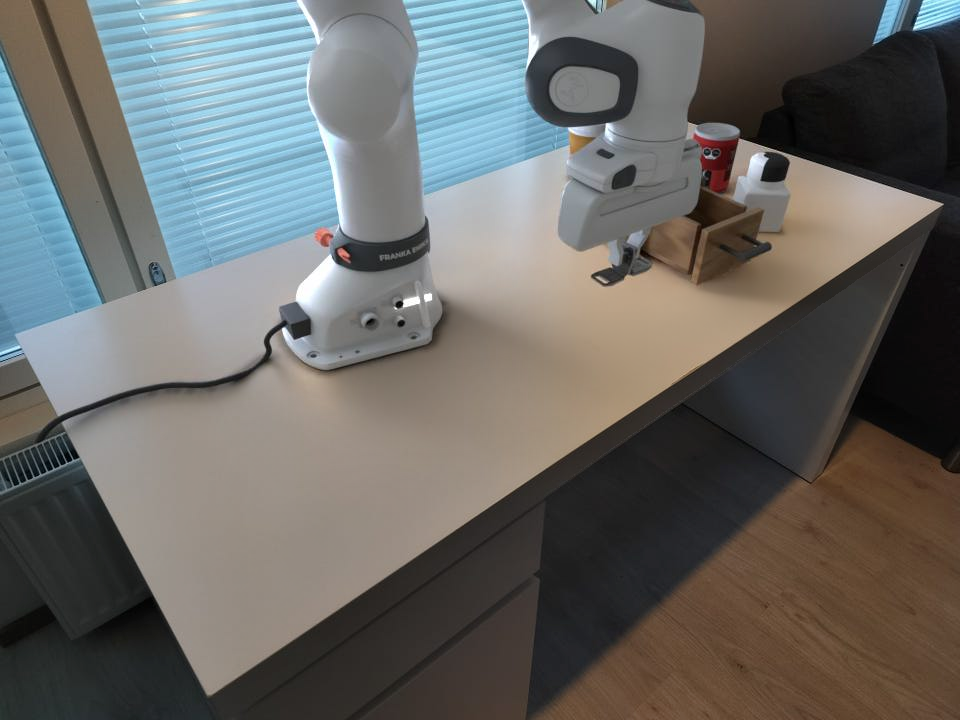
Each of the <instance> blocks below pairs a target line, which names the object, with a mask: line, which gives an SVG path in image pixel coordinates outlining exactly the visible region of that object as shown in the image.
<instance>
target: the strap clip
mask: <svg viewBox="0 0 960 720" xmlns="http://www.w3.org/2000/svg"><path fill="white" fill-rule="evenodd" d="M621 244H622V245H623V246H624V247H626V248H628V249H629V250H631V257H630V256H628V257H627V262H626V263H624V264H621V265H619V266H615V265H614V264H612V263H611V267H610V266H609V267H607V268H604V269H601V270H598V271H595V272H593V273H592V274H590V278H591V280H593V281H594V282H595V283H597V284H599V285H600V286H602V287H604V288H608V287H613V286H615V285H617V284H620V283H621V282H624V281H625V278H626V277H627V276H631V277H636V276H639V275H641V274H644V273H646V272H648V271H649V270H651V269H652V268H653V262H652V261H650V260H648V259H647V258H645V256H644V257H642V256H640V255H639V257H638V258H637V259H635V250H634V248H632V247H630V246H629V245H627V244H625V243H621ZM634 259H635V260H634ZM597 277H599V278H600V279H602V280H604V282H603V281H602V280H600V279H598V278H597Z"/></svg>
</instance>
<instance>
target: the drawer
mask: <svg viewBox="0 0 960 720" xmlns="http://www.w3.org/2000/svg"><path fill="white" fill-rule="evenodd" d="M746 209H747V206H746V205H744V204H741V203H739V202H737V201H735V200H733V198H730V197H729V196H726V195H723V194H721V193H716V192H714V191H712V190H709V189H707V188H705V187H702V186H700V191H699V197H698V202H697V204H696V206H695V208H694V209H693V211H692V212H691V213H689V214H687V215H684V216H681V217H678V218H675V219H673V220H670V221H667V222H664V223H661V224H658V225H656V226H653V227H651V232H650V234H649V236H648V237H647V239H646V240H645V242H644V244H643V245H642V247H641V250H643V251H645V252H646V253H648V254H649V255H650V256H651V257H653V258H656V259H657V260H659V261H661V262H662V263H664V264H666V265H668V266H670V267H672V268H673V269H674V270H675V269H676V270H677V271H679V272H680V273H682V274H684V275H686V276H689V275H691V274H692V275H691V279H690V284H691V283H692V284H694V285H695V286H699V285H700V284H703V283H705V282H707V281H710V280H712V279H714V278H717V277H719V276H721V275H724V274H726V273H727V272H729V271H732V270H734V269H737V268H739V267H741V266H743V265H745V264H748V263H749V262H751V260H753V259H755V258H757V257H759V256H761V255H764V254H765V253H769V252H771V250H773V244H772V243H771V242H770V241H765V242H762V241H760V240H758V239H757V238H758V235H759V232H758V231H759V227H760V224H761V220H762V216H763V213H764V209H762V208H759V207H756V208H754V209H751V210H749V211H746Z"/></svg>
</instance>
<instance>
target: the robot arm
mask: <svg viewBox="0 0 960 720" xmlns="http://www.w3.org/2000/svg"><path fill="white" fill-rule="evenodd" d="M296 1H297V3H298V5H299V7H300V9H301V10H302V13H303V14H304V16H305V18H306V20H307V21H308V23H309V25H310V27H311V29H312V32H313V34H314V37H315V39H316V44H317V45H316V47H315V48H314V49H313V51H312V53H311V55H310V59H309V61H308V65H307V72H306V73H307V74H306V92H307V101H308V104H309V107H310V110H311V112H312V115H313V116H314V118H315V119H316V123H317V126H318V130H319V134H320V136H321V137H320V138H321V139H322V143H323V146H324V149H325V151H326V155H327V158H328V161H329V164H330V170H331V174H332V178H333V179H332V180H333V186H334V193H335V200H336V205H337V206H336V207H337V213H338V219H339V222H338V225H337V228H336V230H335V233H334V234H333V233H332V232H330V231H329V230H328V229H327V228H325V227H320V228H318V229H317V230H315V233H314V239H315V241H316V242H317V243H319V244H320V245H321V246H322V247H324V248H328V247H329V252H330V253H329V255H327V257H326V258H325V259H324V260H323V261H322V262H321V263H320V264H319V265H318V266H317V267H316V269H315V270H314V271H313V272H311V273H310V275H309V276H307V277H306V279H305V280H304V281H302V283H300V285H299V286H298V288H297V291H296V294H295V301H293V302H290V303H287V304H283V305H280V306H278V311H279V316H280V320H281V321H280V322H279V323H278V324H276V325H274V326H273V327H272V328H271V329H270V330H268V331H267V333H266V334H265V336H264V338H263V345H264V348H265V352H264V354H263V355H262V357H261V358H260V359H259V361H258V362H256V363H255V364H254V365H252V366H251V367H249V368H247V369H245V370H242V371H240V372H237V373H234V374H230V375H226V376H223V377H220V378H217V379H212V380H206V381H169V382H160V383H155V384H150V385H145V386H140V387H137V388H132V389H129V390H125V391H122V392H119V393H116V394H113V395H110V396H107V397H105V398H102V399H100V400H97V401H94V402H92V403H89V404H87V405H83V406H80V407H78V408H74V409H72V410H70V411H67V412H64V413H62V414H61V415H59V416H57V417H55V418H53V419H52V420H51V421H49V422H48V423H47V424H45V426H43V428H42V429H41V430H40V432H39V433H38V435H37V436H36V438H35V440H34V444H40V443H42V442H43V441H44V440H45V439H46V437H47V436H48V435H49V434H50V433H51V431H53V429H55V428H56V427H58V426H59V425H60V424H61V423H63V422H65V421H67V420H70V419H72V418H74V417H76V416H79V415H82V414H85V413H88V412H91V411H94V410H96V409H98V408H102V407H104V406H107V405H109V404H112V403H114V402H117V401H119V400H123V399H126V398H130V397H134V396H137V395H141V394H146V393H151V392H155V391H160V390H167V389H206V388H213V387H217V386H220V385H224V384H227V383H231V382H234V381H237V380H241V379H242V378H245V377H247V376H249V375H250V374H251V373H252V372H254V371H255V370H256V369H258V368H260V367H261V366H263V364H265V363H266V362H268V360H269V359H270V357H271V355H272V354H273V346H272V345H271V339H272V338H273V336H274V335H275V334H277V333H278V332H279V331H281V330H282V336H283V339H284V341H285V343H286V345H287V346H288V348H289V349H290V350H291V352H292V353H293V354H294V355H295V356H296V357H297V358H298V359H299V360H300V361H302V362H304V363H305V364H306V365H309V366H310V367H313V368H315V369H318V370H322V371H329V370H335V369H338V368H342V367H345V366H350V365H354V364H357V363H361V362H365V361H368V360H372V359H373V360H374V359H376V358H380V357H384V356H388V355H391V354H395V353H399V352H403V351H406V350H411V349H414V348H418V347H422V346H426V345H428V344H430V343H431V341H432V340H433V333H434V332H433V330H434V328H435V327H436V326H437V324H438V323H439V322H440V320H441V318H442V315H443V305H442V303H441V300H440V297H439V294H438V292H437V289H436V285H435V281H434V278H433V273H432V267H431V261H430V256H429V254H430V252H431V233H430V223H429V219H428V217H427V216H426V212H425V211H426V210H425V194H424V192H425V191H424V178H423V177H424V175H423V163H422V159H421V153H420V145H419V139H418V131H417V123H416V113H415V96H414V95H415V81H416V74H417V69H418V64H419V58H420V57H419V54H420V53H419V45H418V41H417V38H416V35H415V32H414V29H413V26H412V23H411V20H410V17H409V15H408V12H407V9H406V6H405V4H404V0H296ZM521 3H522V5H523V8H524V10H525V14H526V18H527V28H528V34H527V36H528V37H527V60H526V68H525V77H524V90H525V94H526V98H527V101H528V103H529V105H530V107H531V108H532V110H533V111H534V113H535V114H536V115H537V116H538V117H539V118H540V119H542V120H543V121H545V122H546V123H548V124H550V125H552V126H554V127H555V126H556V127H559V128H568V127H583V126H593V125H601V124H606V128H605V132H603V133H601V134H600V135H599V136H597V137H596V138H595V139H594V140H593V141H592V142H590V143H589V144H588V145H586V146H585V147H583V148H582V149H580V150H579V151H577V152H576V153H574V154H573V155H571V156H570V155H569V157H568V158H567V161H566V167H565V168H566V170H565V171H566V173H567V174H568V176H570V179H569V180H568V182H567V183H566V184H565V186H564V188H563V191H562V195H561V200H560V206H559V213H558V219H557V221H558V222H557V236H558V238H559V239H560V240H561V242H562V243H563V244H564V245H566V246H567V247H569V248H571V249H573V250H574V251H576V252H579V253H582V252H585V251H588V250H591V249H594V248H596V247H600V246H602V245H604V244H607V247H608V249H609V254H608V262H609V263H610V264H611V265H612V264H614V265H615V266H619V265H621V264H624V263H626V262H627V257H628V256H630V257H631V250H629V249H628V248H626V247H624V246H623V245H622V244H621V243H624V242H625V239H626V236H627V235H630V234H631V235H630V237H629V239H628V241H627V243H625V244H627V245H629V246H630V247H632V248H634V250H635V259H637V258H638V257H639V253H640V248H641V247H642V245H643V244H644V242H645V240H646V239H647V237H648V236H649V234H650V232H651V227H653V226H656V225H658V224H661V223H664V222H667V221H670V220H673V219H675V218H678V217H681V216H684V215H687V214H689V213H691V212H692V211H693V209H694V208H695V206H696V204H697V202H698V197H699V191H700V184H701V175H702V165H701V161H700V158H701V154H702V147H701V146H700V144H699V143H698V142H697V141H696V140H695V139H693V138H689V139H687V135H688V131H689V122H688V113H689V108H690V105H691V102H692V100H693V98H694V97H695V94H696V92H697V88H698V83H699V79H700V72H701V67H702V61H703V56H704V55H703V54H704V46H705V37H706V36H705V33H706V24H705V18H704V16H703V14H702V11H701V10H700V9H699V7H698V6H697V5H696V4H695V3H694V2H693V1H691V0H621V1H620V2H618V3H616V4H614V5H612V6H610V7H609V8H607V9H604V10H603V11H600V12H599V10H598V9H596V7H595V6H594V5H593V4H592V3H591V2H590V0H521ZM571 176H572V177H573V178H571ZM635 259H634V260H635Z"/></svg>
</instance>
